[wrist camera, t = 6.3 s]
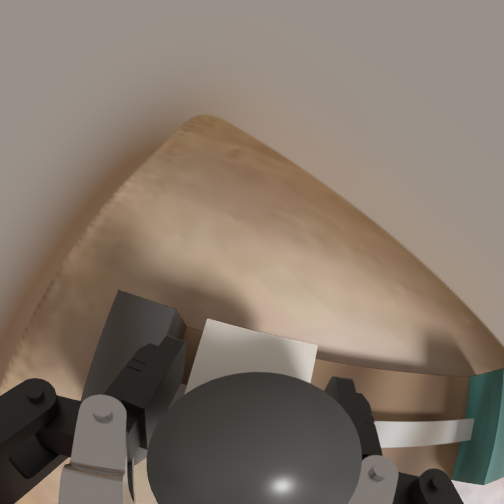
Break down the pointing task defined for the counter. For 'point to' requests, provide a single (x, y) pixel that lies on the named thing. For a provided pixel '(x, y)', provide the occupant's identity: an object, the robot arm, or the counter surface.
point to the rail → (366, 382)
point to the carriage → (253, 428)
